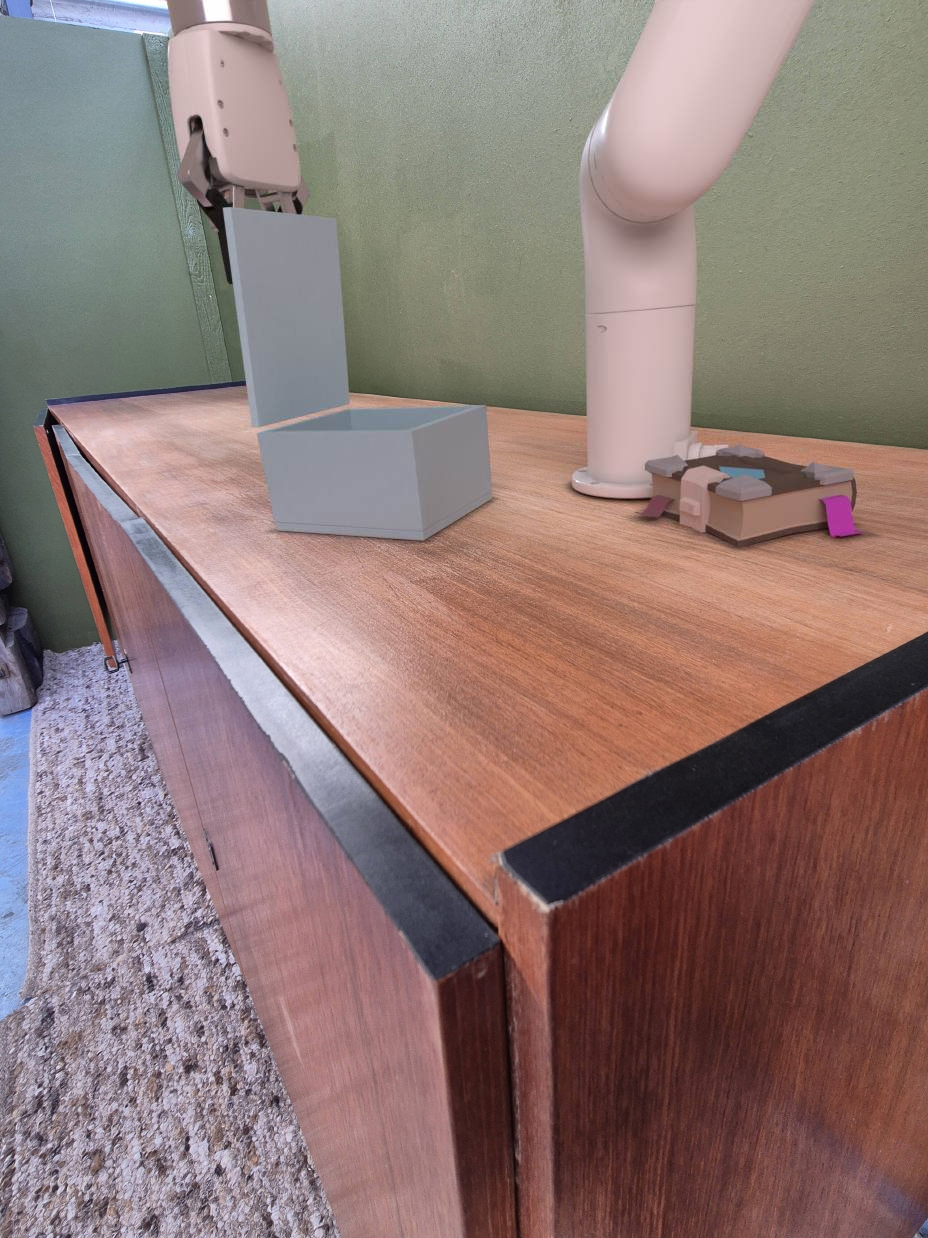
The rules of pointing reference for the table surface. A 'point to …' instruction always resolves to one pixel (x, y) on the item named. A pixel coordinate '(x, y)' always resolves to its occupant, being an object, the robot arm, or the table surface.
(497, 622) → the table surface
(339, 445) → the chest
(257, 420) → the lid
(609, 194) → the robot arm
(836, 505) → the book
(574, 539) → the table surface
